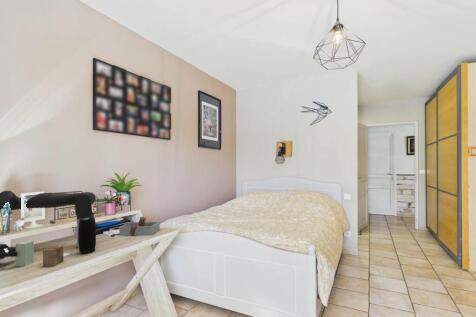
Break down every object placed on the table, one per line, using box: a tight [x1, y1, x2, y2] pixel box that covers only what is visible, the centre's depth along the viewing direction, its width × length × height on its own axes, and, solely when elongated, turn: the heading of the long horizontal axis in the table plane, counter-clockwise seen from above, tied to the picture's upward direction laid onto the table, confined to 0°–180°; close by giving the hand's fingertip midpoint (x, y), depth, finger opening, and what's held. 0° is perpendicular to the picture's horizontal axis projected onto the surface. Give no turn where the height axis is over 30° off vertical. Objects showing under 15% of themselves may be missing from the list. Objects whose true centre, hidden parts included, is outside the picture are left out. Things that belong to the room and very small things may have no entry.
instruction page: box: [40, 252, 72, 260], centre depth 139 cm, size 8×11×1 cm
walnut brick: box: [42, 245, 64, 267], centre depth 128 cm, size 6×6×8 cm
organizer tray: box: [118, 221, 161, 237], centre depth 188 cm, size 16×24×6 cm, turn 88°
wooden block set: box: [130, 216, 150, 236], centre depth 187 cm, size 18×9×10 cm, turn 153°
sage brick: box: [15, 240, 35, 267], centre depth 129 cm, size 5×5×11 cm
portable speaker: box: [78, 216, 97, 255], centre depth 146 cm, size 9×9×20 cm
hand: (24, 251), depth 129 cm, fingers open, 8 cm apart
